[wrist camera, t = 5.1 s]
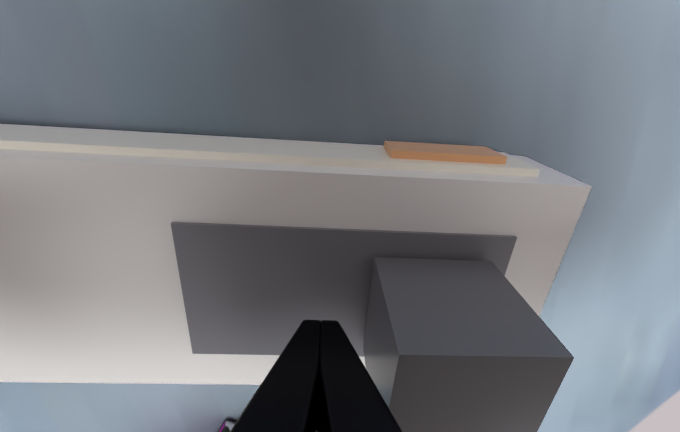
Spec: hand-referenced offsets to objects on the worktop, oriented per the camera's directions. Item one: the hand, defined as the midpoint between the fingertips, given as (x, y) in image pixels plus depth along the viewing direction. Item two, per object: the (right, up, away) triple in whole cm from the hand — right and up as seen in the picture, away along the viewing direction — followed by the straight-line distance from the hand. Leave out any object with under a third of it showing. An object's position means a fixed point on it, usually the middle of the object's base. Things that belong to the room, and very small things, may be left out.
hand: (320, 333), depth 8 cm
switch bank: (-7, +2, +4) cm, 8 cm away
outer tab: (+3, 0, +1) cm, 3 cm away
